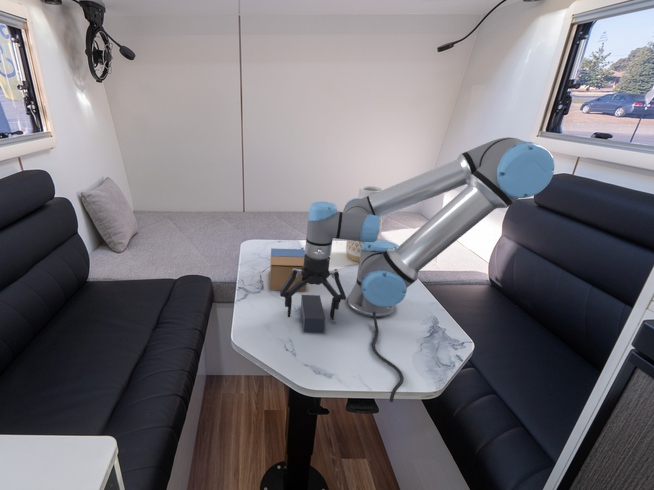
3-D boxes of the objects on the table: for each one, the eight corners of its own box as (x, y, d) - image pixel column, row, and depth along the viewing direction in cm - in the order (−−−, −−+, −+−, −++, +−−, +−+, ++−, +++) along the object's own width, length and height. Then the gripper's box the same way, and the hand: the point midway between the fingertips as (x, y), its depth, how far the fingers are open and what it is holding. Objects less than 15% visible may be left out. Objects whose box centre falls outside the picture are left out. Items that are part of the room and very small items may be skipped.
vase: (356, 266, 155) (367, 193, 142) (338, 254, 166) (347, 185, 153) (383, 262, 160) (396, 191, 146) (364, 250, 171) (374, 183, 158)
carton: (270, 271, 149) (271, 248, 145) (302, 272, 149) (304, 249, 144) (269, 289, 136) (270, 264, 131) (305, 291, 135) (307, 265, 131)
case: (323, 332, 112) (325, 318, 110) (303, 332, 112) (304, 318, 110) (318, 308, 125) (319, 295, 123) (300, 307, 125) (301, 294, 123)
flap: (271, 249, 145) (271, 248, 145) (304, 250, 144) (304, 249, 144) (271, 256, 138) (271, 255, 138) (305, 257, 138) (305, 256, 138)
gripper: (274, 258, 106) (270, 320, 115) (362, 262, 105) (351, 325, 115) (274, 248, 112) (271, 307, 122) (357, 252, 112) (347, 311, 121)
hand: (310, 316), depth 118 cm, fingers open, 13 cm apart
